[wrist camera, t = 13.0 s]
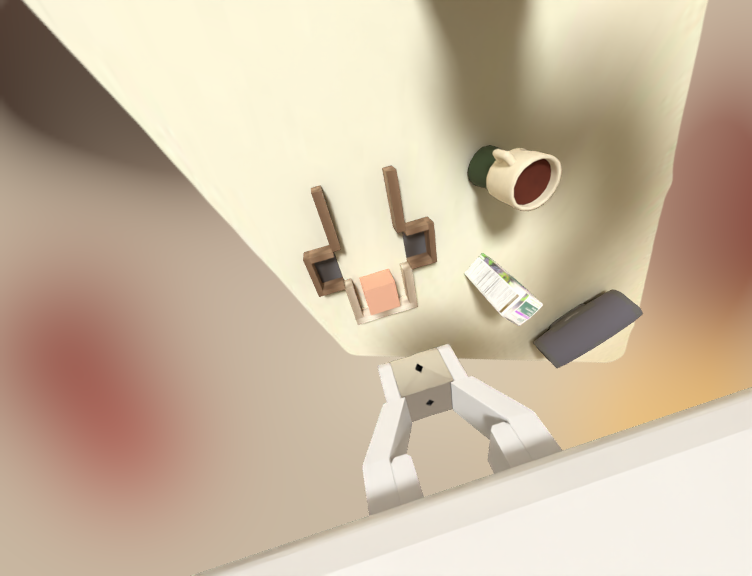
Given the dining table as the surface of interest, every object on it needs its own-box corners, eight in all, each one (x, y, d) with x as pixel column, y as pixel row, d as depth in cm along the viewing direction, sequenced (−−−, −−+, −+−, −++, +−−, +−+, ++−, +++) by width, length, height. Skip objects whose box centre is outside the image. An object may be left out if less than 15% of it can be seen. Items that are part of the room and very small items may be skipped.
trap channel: (421, 157, 42) (428, 160, 39) (434, 291, 58) (440, 299, 56) (279, 196, 41) (277, 202, 39) (333, 322, 57) (334, 332, 55)
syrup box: (498, 263, 57) (546, 304, 46) (479, 283, 60) (520, 327, 48) (481, 252, 55) (528, 292, 43) (462, 273, 57) (501, 317, 45)
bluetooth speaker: (536, 347, 78) (562, 375, 70) (525, 334, 74) (551, 362, 65) (609, 298, 72) (647, 323, 64) (602, 280, 67) (642, 304, 59)
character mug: (516, 169, 46) (576, 188, 36) (484, 202, 49) (532, 229, 38) (481, 122, 41) (540, 128, 30) (448, 162, 43) (492, 180, 33)
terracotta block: (388, 268, 52) (394, 282, 48) (393, 291, 56) (400, 306, 52) (359, 277, 52) (363, 291, 48) (366, 300, 56) (371, 315, 52)
